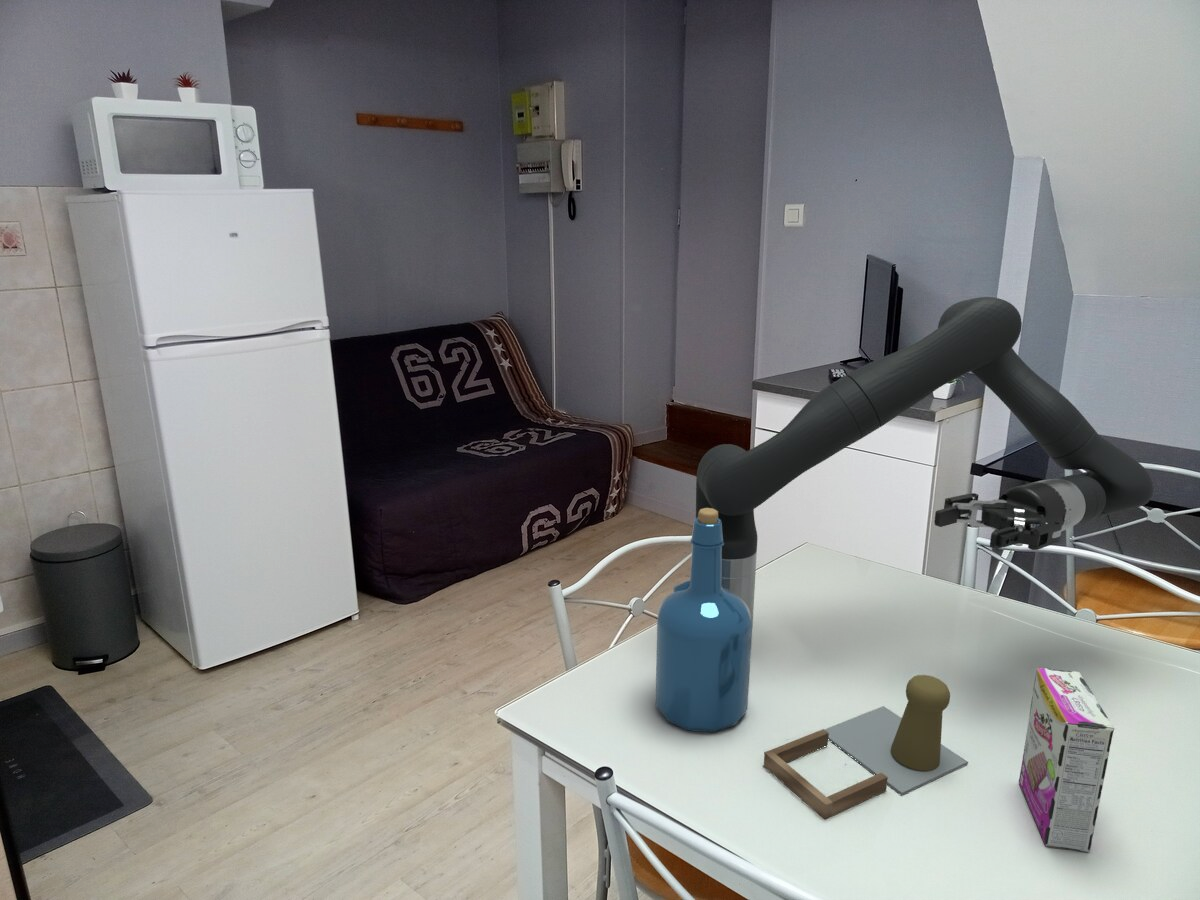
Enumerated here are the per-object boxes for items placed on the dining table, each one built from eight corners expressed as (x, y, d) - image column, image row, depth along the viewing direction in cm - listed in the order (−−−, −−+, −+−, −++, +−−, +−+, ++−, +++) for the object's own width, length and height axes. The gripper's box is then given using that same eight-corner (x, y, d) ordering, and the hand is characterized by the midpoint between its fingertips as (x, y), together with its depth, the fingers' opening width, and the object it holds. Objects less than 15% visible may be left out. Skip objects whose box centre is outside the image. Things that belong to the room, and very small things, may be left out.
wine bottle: (761, 731, 112) (774, 525, 104) (666, 741, 110) (672, 532, 102) (729, 676, 125) (739, 490, 117) (644, 684, 123) (647, 495, 115)
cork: (898, 734, 110) (912, 662, 107) (945, 753, 107) (961, 680, 104) (884, 757, 106) (898, 683, 102) (932, 777, 102) (949, 701, 99)
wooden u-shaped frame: (763, 765, 105) (764, 752, 105) (822, 741, 110) (823, 728, 109) (824, 819, 96) (826, 805, 96) (886, 791, 101) (887, 777, 100)
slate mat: (819, 733, 112) (820, 731, 112) (883, 708, 117) (883, 705, 117) (901, 795, 100) (901, 792, 100) (967, 764, 106) (968, 761, 105)
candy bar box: (1014, 782, 102) (1034, 665, 98) (1058, 787, 101) (1080, 670, 97) (1042, 848, 92) (1066, 721, 87) (1091, 855, 91) (1118, 727, 86)
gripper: (1000, 469, 120) (922, 487, 113) (1096, 498, 108) (1017, 520, 101) (993, 517, 122) (916, 537, 115) (1087, 551, 110) (1009, 576, 103)
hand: (964, 529), depth 108 cm, fingers open, 8 cm apart
